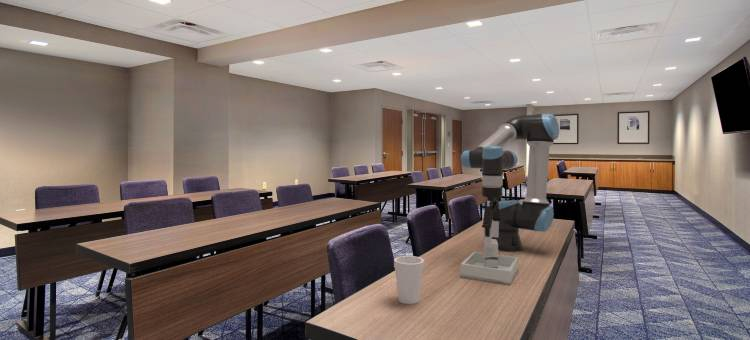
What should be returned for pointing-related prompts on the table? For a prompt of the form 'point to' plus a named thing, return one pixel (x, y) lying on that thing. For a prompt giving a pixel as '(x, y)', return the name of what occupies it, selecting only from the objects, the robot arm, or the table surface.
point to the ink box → (491, 255)
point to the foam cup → (408, 278)
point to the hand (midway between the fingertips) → (491, 240)
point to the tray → (489, 269)
